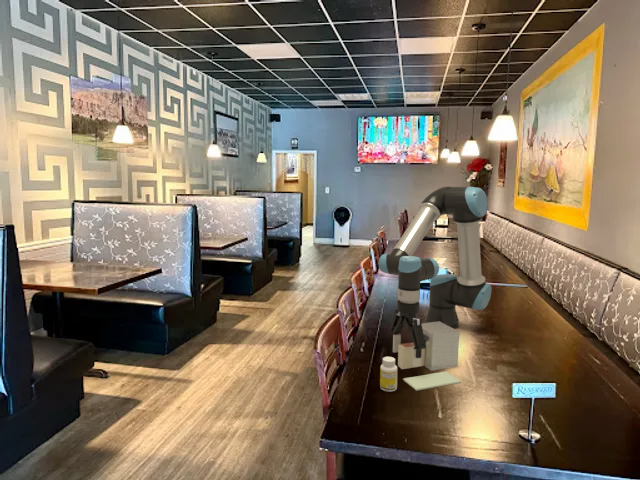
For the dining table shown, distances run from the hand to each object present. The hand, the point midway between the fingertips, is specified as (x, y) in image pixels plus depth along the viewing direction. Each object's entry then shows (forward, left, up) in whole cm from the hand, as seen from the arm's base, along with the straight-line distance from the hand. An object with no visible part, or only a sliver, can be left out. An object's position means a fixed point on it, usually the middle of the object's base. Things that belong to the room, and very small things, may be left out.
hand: (406, 358), depth 158 cm
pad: (-2, +13, -3) cm, 13 cm away
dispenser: (-12, 0, -3) cm, 13 cm away
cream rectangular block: (-4, 0, -3) cm, 5 cm away
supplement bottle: (+14, +12, -3) cm, 19 cm away
